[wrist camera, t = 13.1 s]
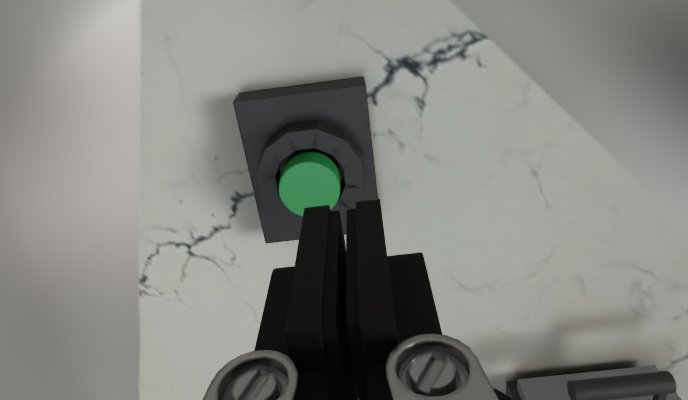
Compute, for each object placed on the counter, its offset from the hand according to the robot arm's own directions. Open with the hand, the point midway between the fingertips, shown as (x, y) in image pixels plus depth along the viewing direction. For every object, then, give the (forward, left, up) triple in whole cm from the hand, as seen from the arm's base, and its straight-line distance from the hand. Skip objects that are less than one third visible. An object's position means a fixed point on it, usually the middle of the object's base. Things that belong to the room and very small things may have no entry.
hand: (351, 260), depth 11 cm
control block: (+5, +4, -22) cm, 23 cm away
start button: (+5, +4, -19) cm, 20 cm away
